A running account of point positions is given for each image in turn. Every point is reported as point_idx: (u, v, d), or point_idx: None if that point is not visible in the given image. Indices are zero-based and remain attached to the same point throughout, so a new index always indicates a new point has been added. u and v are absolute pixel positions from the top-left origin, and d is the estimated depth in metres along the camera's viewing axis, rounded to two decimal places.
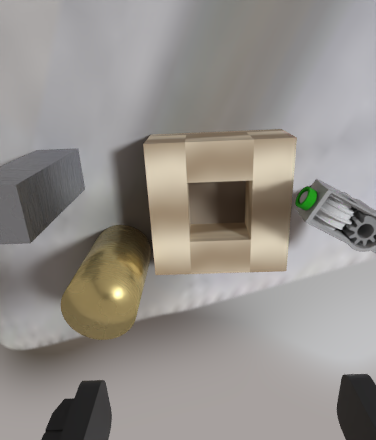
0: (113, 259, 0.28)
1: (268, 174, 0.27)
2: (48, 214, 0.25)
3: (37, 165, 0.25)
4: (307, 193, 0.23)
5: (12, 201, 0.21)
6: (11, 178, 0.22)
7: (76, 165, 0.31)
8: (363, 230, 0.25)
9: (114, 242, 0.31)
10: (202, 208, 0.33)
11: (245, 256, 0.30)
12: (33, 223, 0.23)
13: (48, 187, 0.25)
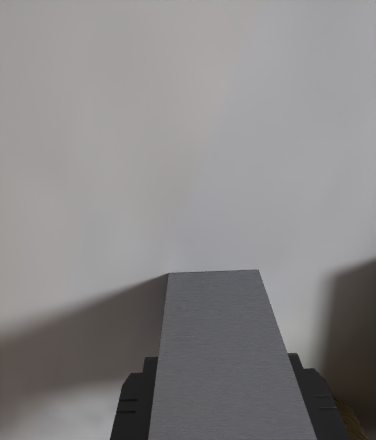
0: None
1: None
2: None
3: (268, 408, 0.09)
4: None
5: None
6: None
7: None
8: None
9: None
10: None
11: None
12: None
13: None
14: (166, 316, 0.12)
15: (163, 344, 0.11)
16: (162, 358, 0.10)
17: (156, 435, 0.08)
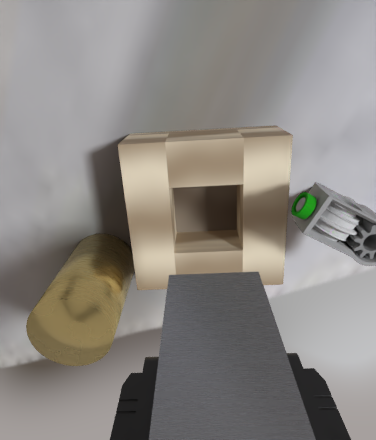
0: (87, 275, 0.25)
1: (260, 177, 0.24)
2: None
3: (268, 410, 0.09)
4: (305, 200, 0.20)
5: None
6: None
7: None
8: (370, 241, 0.22)
9: (91, 254, 0.28)
10: (189, 215, 0.29)
11: (237, 269, 0.27)
12: None
13: None
14: (166, 318, 0.12)
15: (163, 346, 0.11)
16: (162, 360, 0.10)
17: (156, 437, 0.08)
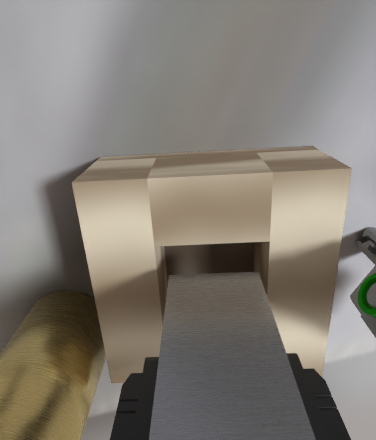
0: (31, 377, 0.16)
1: (297, 231, 0.15)
2: None
3: (268, 410, 0.09)
4: None
5: None
6: None
7: None
8: None
9: (44, 331, 0.19)
10: (186, 269, 0.21)
11: None
12: None
13: None
14: (166, 318, 0.12)
15: (163, 346, 0.11)
16: (162, 360, 0.10)
17: (156, 437, 0.08)
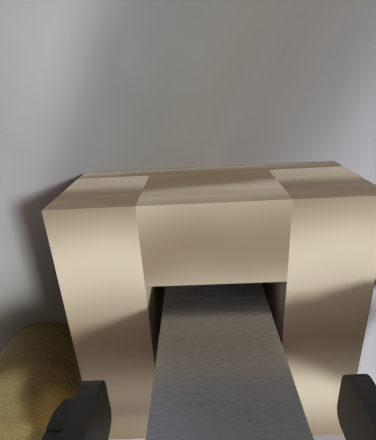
0: None
1: (321, 269, 0.12)
2: None
3: (254, 354, 0.10)
4: None
5: None
6: None
7: None
8: None
9: (17, 377, 0.16)
10: None
11: None
12: None
13: None
14: (168, 287, 0.14)
15: (165, 309, 0.13)
16: (165, 319, 0.12)
17: (160, 374, 0.10)
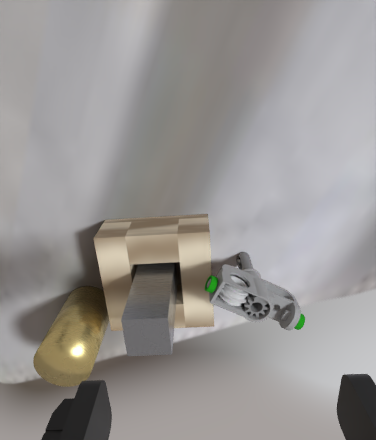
0: (75, 324, 0.36)
1: (191, 257, 0.35)
2: (173, 322, 0.33)
3: (162, 283, 0.33)
4: (210, 281, 0.31)
5: (163, 328, 0.29)
6: (157, 306, 0.30)
7: (175, 266, 0.39)
8: (258, 304, 0.33)
9: (78, 305, 0.39)
10: None
11: (180, 316, 0.38)
12: (171, 337, 0.30)
13: (172, 301, 0.33)
14: (138, 265, 0.37)
15: (136, 272, 0.35)
16: (136, 275, 0.35)
17: (132, 288, 0.33)
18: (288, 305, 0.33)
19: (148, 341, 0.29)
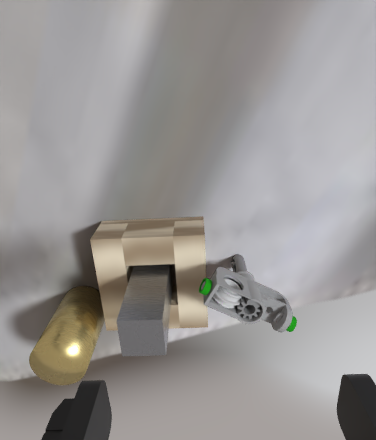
0: (70, 323, 0.37)
1: (186, 259, 0.36)
2: (167, 323, 0.33)
3: (157, 285, 0.34)
4: (205, 284, 0.32)
5: (158, 329, 0.29)
6: (151, 308, 0.30)
7: (170, 268, 0.39)
8: (251, 306, 0.34)
9: (74, 305, 0.40)
10: None
11: (175, 317, 0.39)
12: (165, 338, 0.31)
13: (167, 303, 0.33)
14: (134, 266, 0.37)
15: (132, 273, 0.36)
16: (131, 276, 0.35)
17: (128, 290, 0.33)
18: (280, 308, 0.34)
19: (143, 342, 0.30)
